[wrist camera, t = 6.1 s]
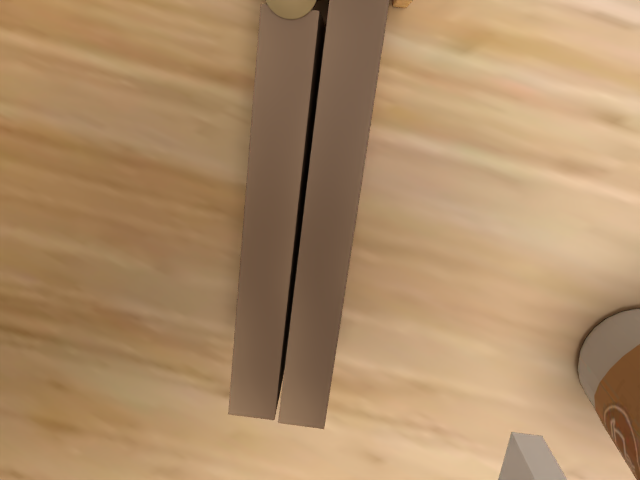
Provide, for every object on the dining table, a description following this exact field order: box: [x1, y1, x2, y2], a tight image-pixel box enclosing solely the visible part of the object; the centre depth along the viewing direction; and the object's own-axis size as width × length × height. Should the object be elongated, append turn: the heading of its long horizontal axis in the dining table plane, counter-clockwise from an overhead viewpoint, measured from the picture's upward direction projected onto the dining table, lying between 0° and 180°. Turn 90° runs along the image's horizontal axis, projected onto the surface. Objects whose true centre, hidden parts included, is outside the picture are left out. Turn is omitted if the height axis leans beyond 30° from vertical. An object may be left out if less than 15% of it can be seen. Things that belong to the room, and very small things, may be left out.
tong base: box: [266, 0, 389, 429], centre depth 23 cm, size 4×21×7 cm, turn 173°
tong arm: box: [228, 4, 326, 420], centre depth 24 cm, size 2×16×7 cm, turn 173°
